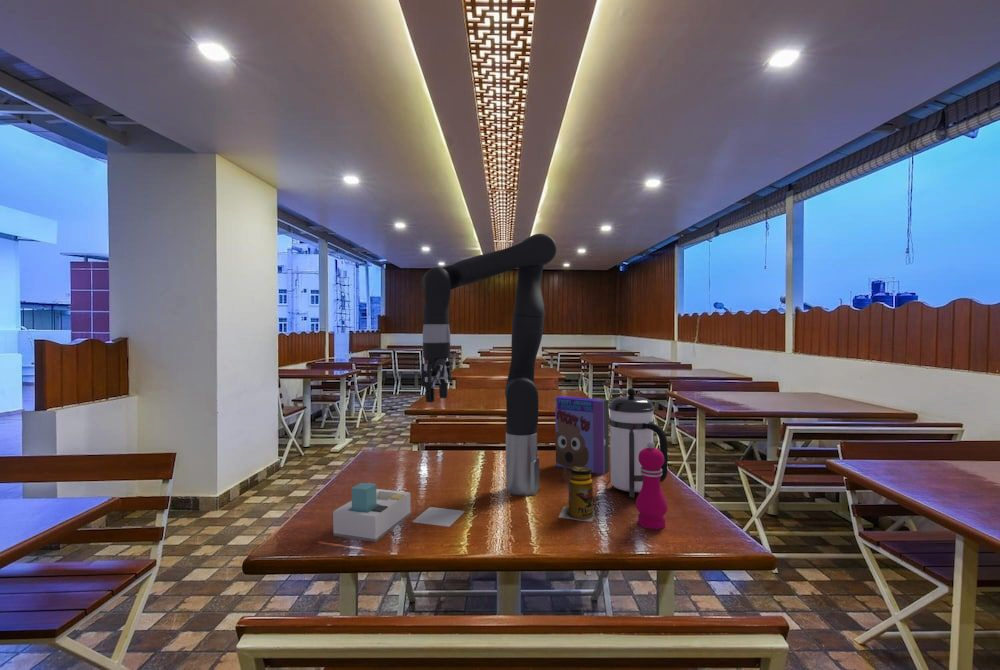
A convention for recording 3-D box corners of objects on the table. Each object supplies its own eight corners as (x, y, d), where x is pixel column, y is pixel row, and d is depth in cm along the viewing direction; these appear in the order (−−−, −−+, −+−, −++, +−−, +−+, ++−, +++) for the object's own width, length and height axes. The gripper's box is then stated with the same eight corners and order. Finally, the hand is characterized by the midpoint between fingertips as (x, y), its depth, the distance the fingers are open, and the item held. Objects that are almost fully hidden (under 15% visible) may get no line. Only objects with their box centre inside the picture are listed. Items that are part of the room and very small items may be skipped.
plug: (376, 526, 109) (376, 484, 109) (367, 533, 106) (366, 489, 105) (361, 524, 111) (361, 482, 110) (351, 531, 107) (351, 487, 107)
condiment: (592, 522, 113) (592, 473, 113) (558, 518, 116) (558, 470, 116) (595, 511, 120) (595, 465, 120) (563, 507, 123) (562, 462, 123)
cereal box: (555, 466, 161) (555, 397, 160) (562, 463, 164) (561, 395, 164) (603, 474, 151) (603, 401, 150) (608, 471, 154) (608, 399, 154)
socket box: (410, 516, 118) (410, 491, 118) (375, 543, 103) (375, 515, 102) (372, 511, 121) (372, 487, 121) (333, 537, 106) (333, 509, 106)
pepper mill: (663, 533, 107) (663, 446, 107) (632, 526, 111) (631, 442, 111) (670, 522, 113) (670, 440, 113) (640, 516, 117) (640, 436, 117)
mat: (464, 512, 120) (464, 511, 120) (449, 528, 110) (449, 526, 110) (429, 508, 123) (429, 506, 123) (411, 523, 113) (411, 521, 113)
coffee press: (601, 498, 129) (601, 391, 129) (608, 480, 144) (608, 384, 144) (667, 505, 124) (667, 393, 123) (667, 486, 139) (667, 386, 138)
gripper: (438, 341, 119) (438, 404, 119) (459, 340, 133) (459, 397, 133) (411, 341, 122) (412, 403, 122) (435, 340, 135) (435, 396, 135)
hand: (437, 400), depth 127 cm, fingers open, 8 cm apart
